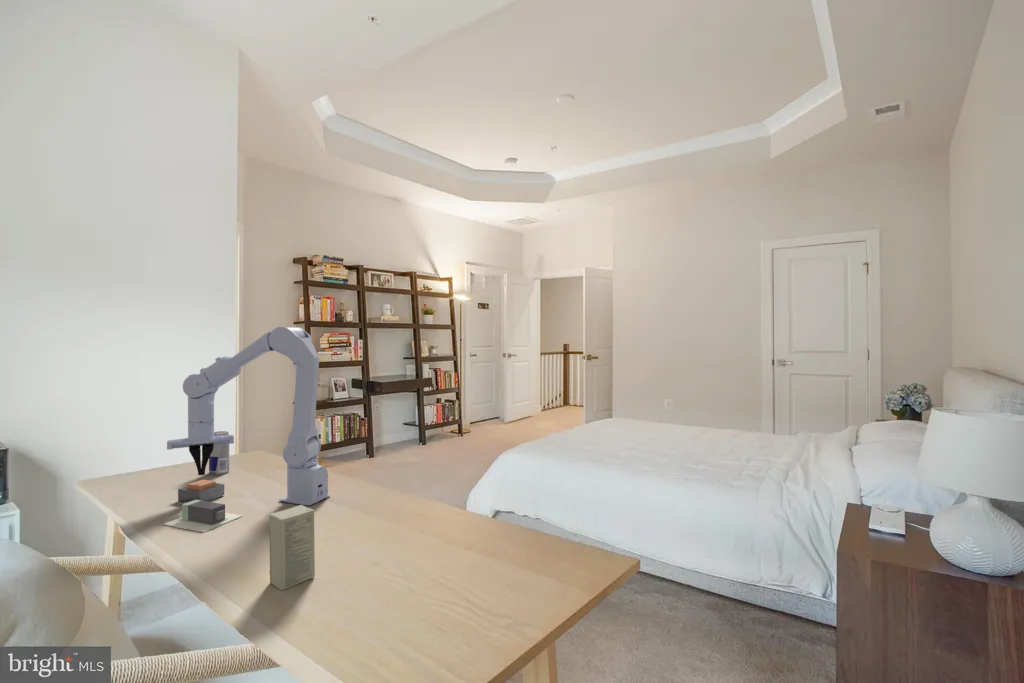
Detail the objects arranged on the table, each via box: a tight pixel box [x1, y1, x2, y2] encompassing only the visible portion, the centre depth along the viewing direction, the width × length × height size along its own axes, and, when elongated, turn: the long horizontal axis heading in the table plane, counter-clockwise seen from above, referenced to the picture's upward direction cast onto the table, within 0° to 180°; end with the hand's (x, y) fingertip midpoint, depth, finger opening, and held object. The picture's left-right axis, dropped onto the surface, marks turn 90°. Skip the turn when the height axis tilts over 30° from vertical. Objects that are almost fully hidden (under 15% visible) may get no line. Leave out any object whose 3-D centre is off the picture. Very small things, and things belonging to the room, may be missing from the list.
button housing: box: [177, 482, 225, 503], centre depth 133 cm, size 7×7×3 cm
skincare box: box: [268, 504, 316, 591], centre depth 90 cm, size 6×4×12 cm
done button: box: [186, 479, 217, 491], centre depth 133 cm, size 4×4×2 cm
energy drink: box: [208, 430, 230, 476], centre depth 156 cm, size 5×5×12 cm
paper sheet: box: [162, 512, 243, 533], centre depth 118 cm, size 12×10×1 cm
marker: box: [181, 500, 226, 525], centre depth 117 cm, size 10×3×3 cm, turn 70°
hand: (201, 474), depth 133 cm, fingers closed
